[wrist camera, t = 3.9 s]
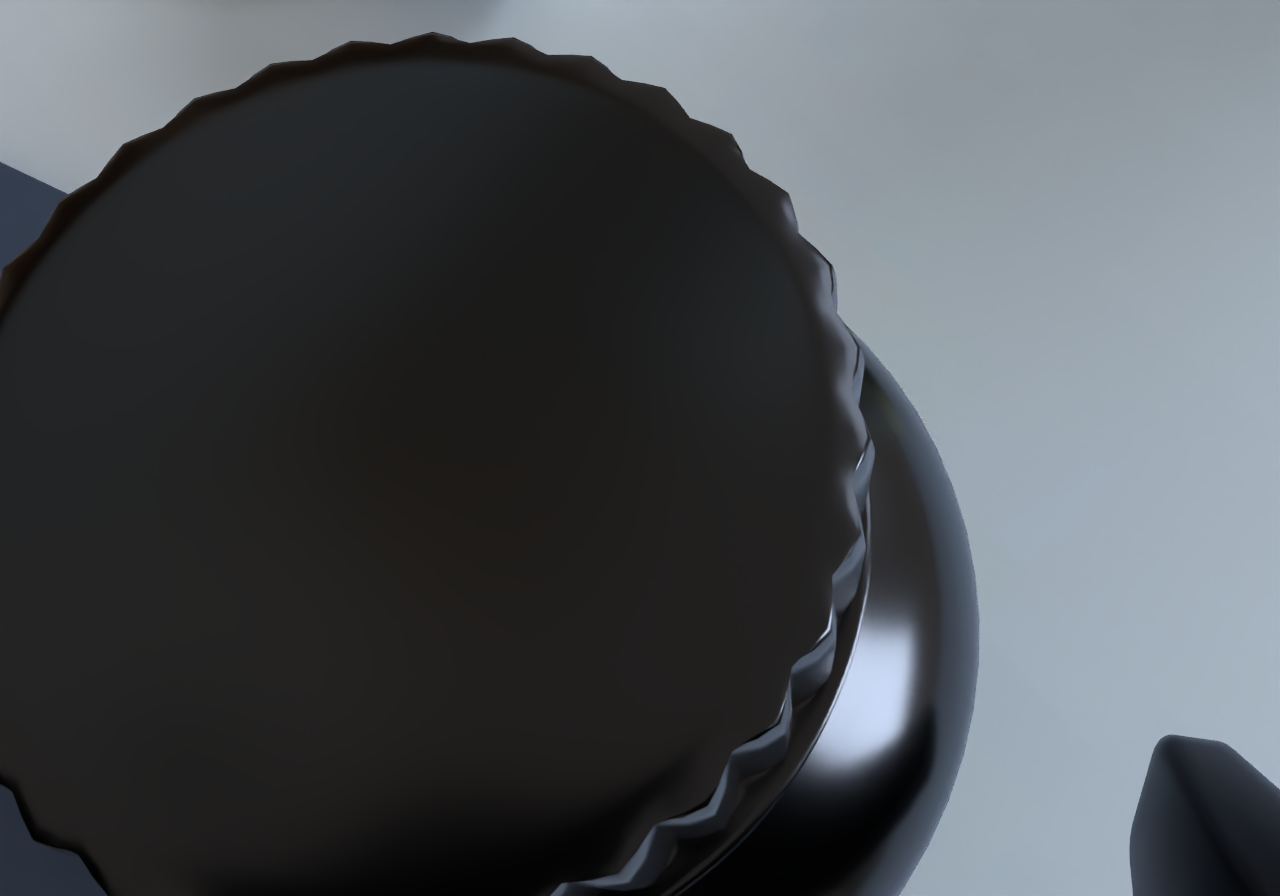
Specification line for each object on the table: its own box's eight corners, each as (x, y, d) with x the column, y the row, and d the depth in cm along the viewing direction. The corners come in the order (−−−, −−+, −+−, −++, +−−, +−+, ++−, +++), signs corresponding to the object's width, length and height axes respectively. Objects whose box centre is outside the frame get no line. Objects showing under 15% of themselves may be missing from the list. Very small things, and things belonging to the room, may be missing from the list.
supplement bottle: (792, 448, 18) (840, -267, 7) (963, 918, 16) (1451, 958, 5) (352, 585, 18) (-305, 78, 7) (456, 1078, 16) (-299, 1518, 5)
